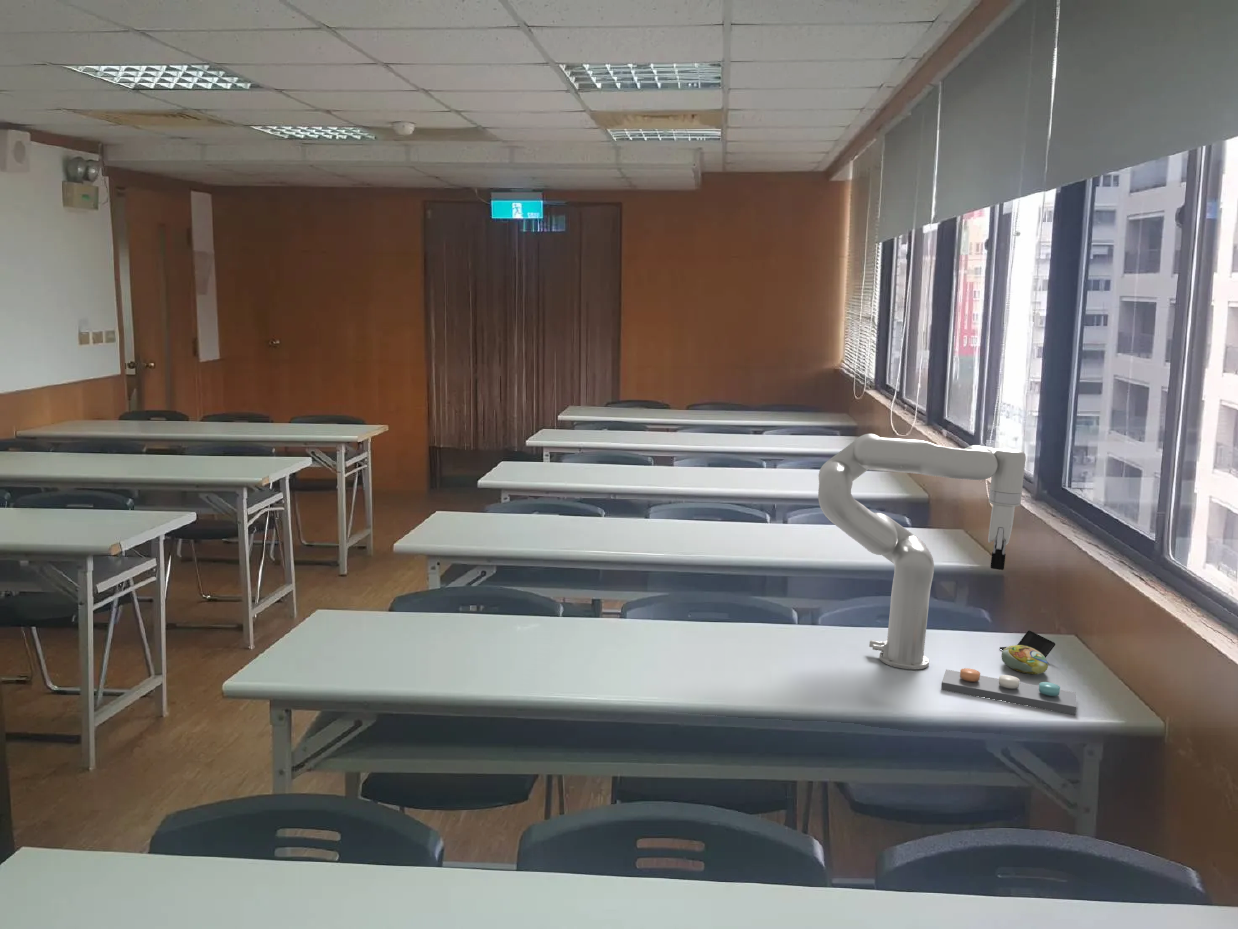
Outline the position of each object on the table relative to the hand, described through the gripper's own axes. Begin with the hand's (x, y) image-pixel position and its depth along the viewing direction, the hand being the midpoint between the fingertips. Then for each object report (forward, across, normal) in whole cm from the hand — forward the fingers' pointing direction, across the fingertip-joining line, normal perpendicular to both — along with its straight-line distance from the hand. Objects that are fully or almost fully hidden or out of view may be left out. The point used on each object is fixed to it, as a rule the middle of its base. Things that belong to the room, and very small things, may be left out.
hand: (997, 568), depth 258 cm
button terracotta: (+25, +16, -3) cm, 29 cm away
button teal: (+24, +16, +15) cm, 33 cm away
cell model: (+27, -6, +9) cm, 29 cm away
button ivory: (+24, +16, +6) cm, 30 cm away
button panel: (+27, +16, +6) cm, 32 cm away
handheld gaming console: (+28, -18, +9) cm, 34 cm away
